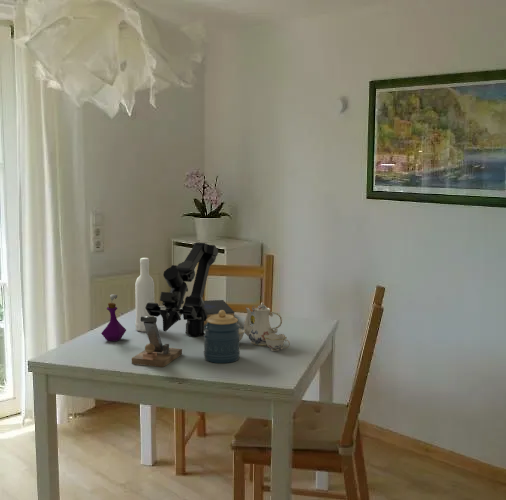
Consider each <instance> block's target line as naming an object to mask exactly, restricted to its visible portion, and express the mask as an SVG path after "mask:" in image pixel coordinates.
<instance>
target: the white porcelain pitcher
mask: <svg viewBox="0 0 506 500" xmlns="http://www.w3.org/2000/svg"><path fill="white" fill-rule="evenodd" d="M254 308H257V307H256V306H255V305H253V306H252V307H251V309H252V311H251V318H250V326H251V327H252V326H253V325H254V322H255V310H254ZM240 328H241V329H242V330H244V325H243V326H240Z"/></svg>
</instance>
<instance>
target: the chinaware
mask: <svg viewBox="0 0 506 500" xmlns="http://www.w3.org/2000/svg"><path fill="white" fill-rule="evenodd" d="M253 308H254V312H255V322H254V325H253V326H252V327H251V325H250V318H251V312H252V311H251V309H250V308H249V307H247V306H245V309H246V316H245V320H244V323H243V326H244V330H242V329H241V328H239V334H240V338H239V342H240V341H241V340H242V339H243V337H244V334H246V336H247V337H248V339H249V341H250V343H251V344H252V345H255V346H267V347H268V348H270V351H272V352H278V351H280V350H283V348H285V349H287V348H289V347H290V346H291V345H290V344H291V342H290V340H288V339H287V336H286V335H285V334H284V333H283V334H282V333H280V334H277V333H278V328H280V327H282V325H283V317H282V316H281V314H280V313H278V312H276V311H271V308H270V307H267V306H266V305H265V303H264V302H263V301H261V303H260V305H259V304H258V306H257V307H256V308H255V307H253ZM274 314H275V315H276V316H278V317H279V319H280V323H279V325H278V326H274V327H272V326H271V323H270V317H271V318H272V317H273V316H274ZM287 341H288V346H284V344H285V342H287Z"/></svg>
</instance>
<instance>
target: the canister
mask: <svg viewBox="0 0 506 500" xmlns="http://www.w3.org/2000/svg"><path fill="white" fill-rule="evenodd" d="M206 321H207V324H205V325H204V333H205V334H204V335H203V337H204V338H203V340H204V341H203V343H204V344H203V345H204V346H203V357H204V360H205V361H207V362H209V363H216V364H227V363H233V362H237V361H238V360H239V359H240V356H241V355H240V353H241V351H240V341H239V338H240V334H239V328H240V327H241V325H240V324H239V323H238V321H239V320H238V318H236V317H235V315H234V316H233V315H229V314H226V312H225V311H224V310H220V311H219V313H218V314H215V315H211V316H210V317H209V318H207V319H206Z"/></svg>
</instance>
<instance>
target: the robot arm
mask: <svg viewBox="0 0 506 500" xmlns="http://www.w3.org/2000/svg"><path fill="white" fill-rule="evenodd" d="M218 254H219V249H218V247H217V246H216V245H215V244H208V243H206V242H199V241H197V242H194V243H193V244H192V249H191V250H190V252H189V253H188V255H187V256H186V258H185V259H184V261H181V262H179V263H178V264H177V265H176V264H175V265H173V264H171V265H170V267H168V268H167V269H165V271H163V278H164V280H165V281H166V283H167V285H168V287H170V290H169V291H168V292H167V291H166V292H165V291H161V292H160V297H159V302H162V305H161V306H160V305H159V304H158V303H157V302H154V303H150V302H149V303H147V304H146V307H145V308H146V310H147V312H148V313H149V315H150V316H154V317H156V318H158V317H159V316H161V318H162V330H163V332H167V331H168V330H169V329H170V328H171V327H173V325H175V324H176V323H177V322H178V321H181V320H182V318H181V317H182V316H183V320H185V321H186V323H185V333H184V334H187V335H188V336H189V337H191V338H193V337H200V336H204V334H205V328H204V321H206V319H207V317H208V314H207V312H206V310H205V304H204V301H205V300H204V298H203V297H204V293H205V290H206V285H207V279H208V275H209V272H210V267H211V266H212V265H213V264H214V263H215V262H216V258H217V257H218ZM195 269H196V272H195ZM193 280H194V281H193ZM192 281H193V285H192V290H191V293H190V295H188V296H186V297H185V295H186V292H187V293H188V291H189V287H188V285H187V283H191V282H192ZM186 282H187V283H186ZM184 298H185V299H184ZM181 307H182V308H181Z"/></svg>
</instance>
